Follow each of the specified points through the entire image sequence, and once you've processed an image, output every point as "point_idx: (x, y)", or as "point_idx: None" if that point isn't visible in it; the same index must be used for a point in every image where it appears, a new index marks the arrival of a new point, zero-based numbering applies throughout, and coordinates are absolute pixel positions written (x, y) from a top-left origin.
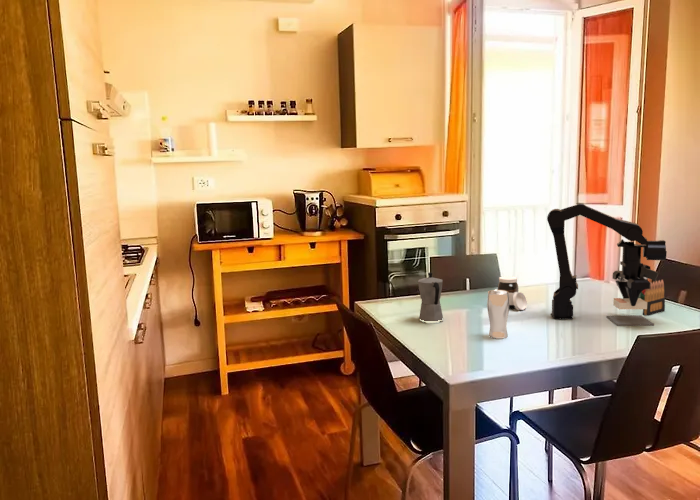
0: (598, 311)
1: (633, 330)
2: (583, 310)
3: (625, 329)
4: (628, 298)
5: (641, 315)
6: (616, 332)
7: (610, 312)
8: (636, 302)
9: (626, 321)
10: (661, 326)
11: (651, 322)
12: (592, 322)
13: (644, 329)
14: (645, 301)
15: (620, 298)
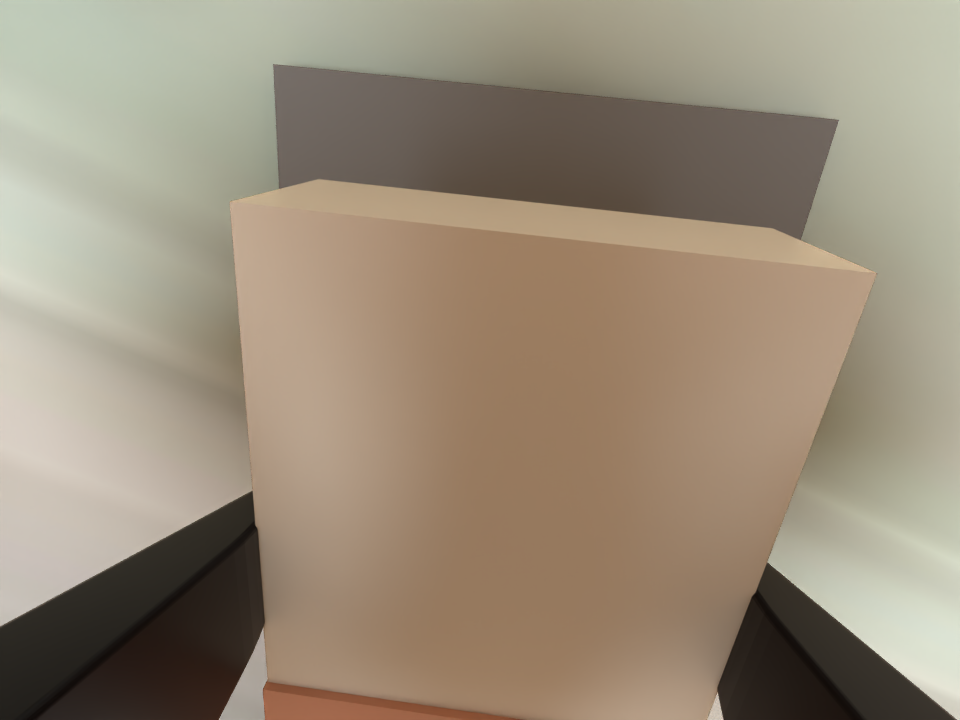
0: (36, 492)
1: (925, 506)
2: (22, 606)
3: (849, 563)
4: (265, 536)
5: (284, 66)
6: (916, 682)
7: (61, 385)
8: (759, 567)
9: None
10: (911, 11)
11: (745, 122)
12: None
13: (946, 364)
14: (723, 259)
15: (301, 706)
